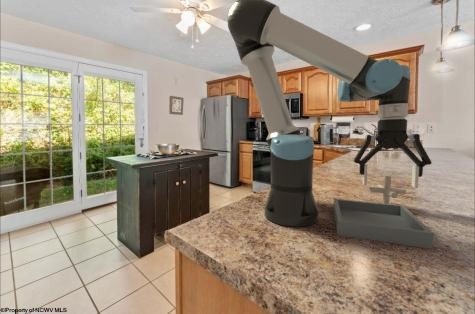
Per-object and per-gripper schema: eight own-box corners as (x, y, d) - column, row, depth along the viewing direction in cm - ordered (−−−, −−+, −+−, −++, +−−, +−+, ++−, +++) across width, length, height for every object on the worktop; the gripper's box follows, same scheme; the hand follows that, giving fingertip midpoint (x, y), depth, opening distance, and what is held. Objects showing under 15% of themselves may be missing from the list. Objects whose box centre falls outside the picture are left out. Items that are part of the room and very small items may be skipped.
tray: (337, 234, 51) (337, 221, 51) (333, 209, 68) (334, 198, 68) (432, 249, 45) (433, 233, 45) (402, 216, 62) (403, 205, 61)
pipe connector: (411, 212, 65) (414, 179, 64) (375, 210, 67) (377, 178, 66) (394, 201, 74) (397, 173, 73) (363, 200, 76) (365, 172, 75)
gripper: (348, 120, 68) (346, 185, 71) (450, 116, 59) (444, 191, 62) (346, 121, 75) (344, 180, 78) (437, 117, 66) (431, 185, 69)
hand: (388, 185), depth 70 cm, fingers open, 13 cm apart
